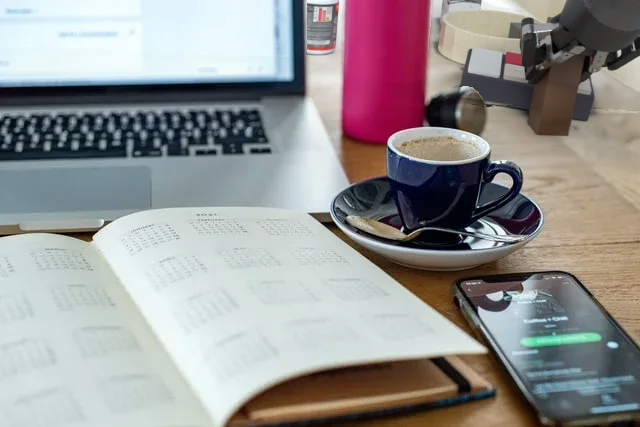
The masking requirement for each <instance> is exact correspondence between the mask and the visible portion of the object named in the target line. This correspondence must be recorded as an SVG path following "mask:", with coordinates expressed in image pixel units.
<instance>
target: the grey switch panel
mask: <svg viewBox="0 0 640 427" xmlns="http://www.w3.org/2000/svg"><path fill="white" fill-rule="evenodd" d="M591 76H592V75H591ZM591 76H590V77H589V78H588V79H587V80H586V81H584V82H581V84H580V85H579V87H578V91H577V96H576V101H575V105H574V110H573V115H572V119H574V120H579V121H589V119H590V115H591V112H592V108H593V105H594V101H595V92H594V87H593V86H594V85H593V82H592V77H591ZM462 86H469V87H473V88H474V89H475V90H476V91H478V92H479V94H480V95H481V96H482V98H483V100H484V101H483V102H489V103H484V104H485V105H486V107H485V108H491V107H494V106H496V105H497V104H501V105H504V106H506V107H512V108H516V109H522V110H526V111H530V107H531V102H532V96H533V91H534V86H535V85H533V84H528V80H525V71H524V67H523V66H522V64H521V54H518V53H512V52H506V55H504V54H502V52H498V51H493V50H487V49H482V48H476V47H473V49H469V50H468V54H467V59H466V63H465V65H464V67H463V71H462V76H461V81H460V86H459V88H460V87H462Z"/></svg>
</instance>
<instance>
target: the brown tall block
mask: <svg viewBox="0 0 640 427" xmlns="http://www.w3.org/2000/svg"><path fill="white" fill-rule="evenodd" d="M553 17H554V16H547V18H546V23H549V22H550V20H551V19H552V18H553ZM544 39H545V37H544ZM544 39H543V40H544ZM584 59H585V55H580V54H578V55H573V56H572V57H570V58H569V59H567V60H566V61H564V62H563V63H561V64H555V63H554V64H553V65H552V66H550V67H549V68H547V71H546V72H545V74H544V75H543V76H542V77H541V79H540V80H539V81H538V82H537V83H536V85H535V86H534V91H533V96H532V102H531V107H530V110H529V113H528V118H527V125H528V126H529V127H530V128H531V129H532V130H533V131H534V133H536V135H538V136H541V135H542V136H569V133H570V129H571V124H572V120H573V118H572V115H573V110H574V105H575V101H576V96H577V91H578V87H579V82H580V78H581V73H582V68H583V64H584Z"/></svg>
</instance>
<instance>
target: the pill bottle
mask: <svg viewBox="0 0 640 427" xmlns="http://www.w3.org/2000/svg"><path fill="white" fill-rule="evenodd" d="M339 9H340V0H307V53H306V55H319V56H320V55H321V56H322V55H328V54H331V53H333V52H334V51H335V50H336V46H337V37H338V36H337V34H338V20H339Z"/></svg>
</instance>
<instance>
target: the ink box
mask: <svg viewBox="0 0 640 427" xmlns="http://www.w3.org/2000/svg"><path fill="white" fill-rule="evenodd" d="M482 1H483V0H442V1H441V11H440V20H439V22H440V24H441V23H442V18H443V15H445V14H447V13H449V12H452V11H458V10H472V9H478V10H482V9H481V8H482Z"/></svg>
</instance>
